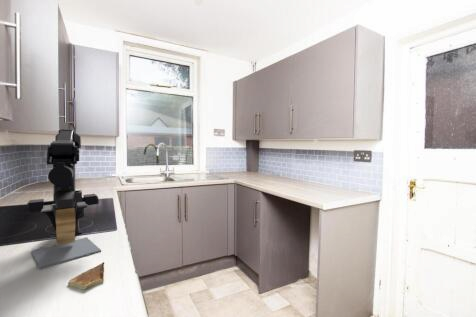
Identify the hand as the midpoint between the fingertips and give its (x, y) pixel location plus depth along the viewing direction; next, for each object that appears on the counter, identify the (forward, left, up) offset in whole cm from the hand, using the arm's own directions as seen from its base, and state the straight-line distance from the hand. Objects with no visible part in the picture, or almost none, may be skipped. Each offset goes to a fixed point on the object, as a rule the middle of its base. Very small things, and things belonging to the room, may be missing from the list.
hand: (65, 228), depth 80 cm
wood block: (-5, +1, -5) cm, 7 cm away
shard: (+23, 0, -9) cm, 25 cm away
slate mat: (0, 0, -8) cm, 8 cm away
